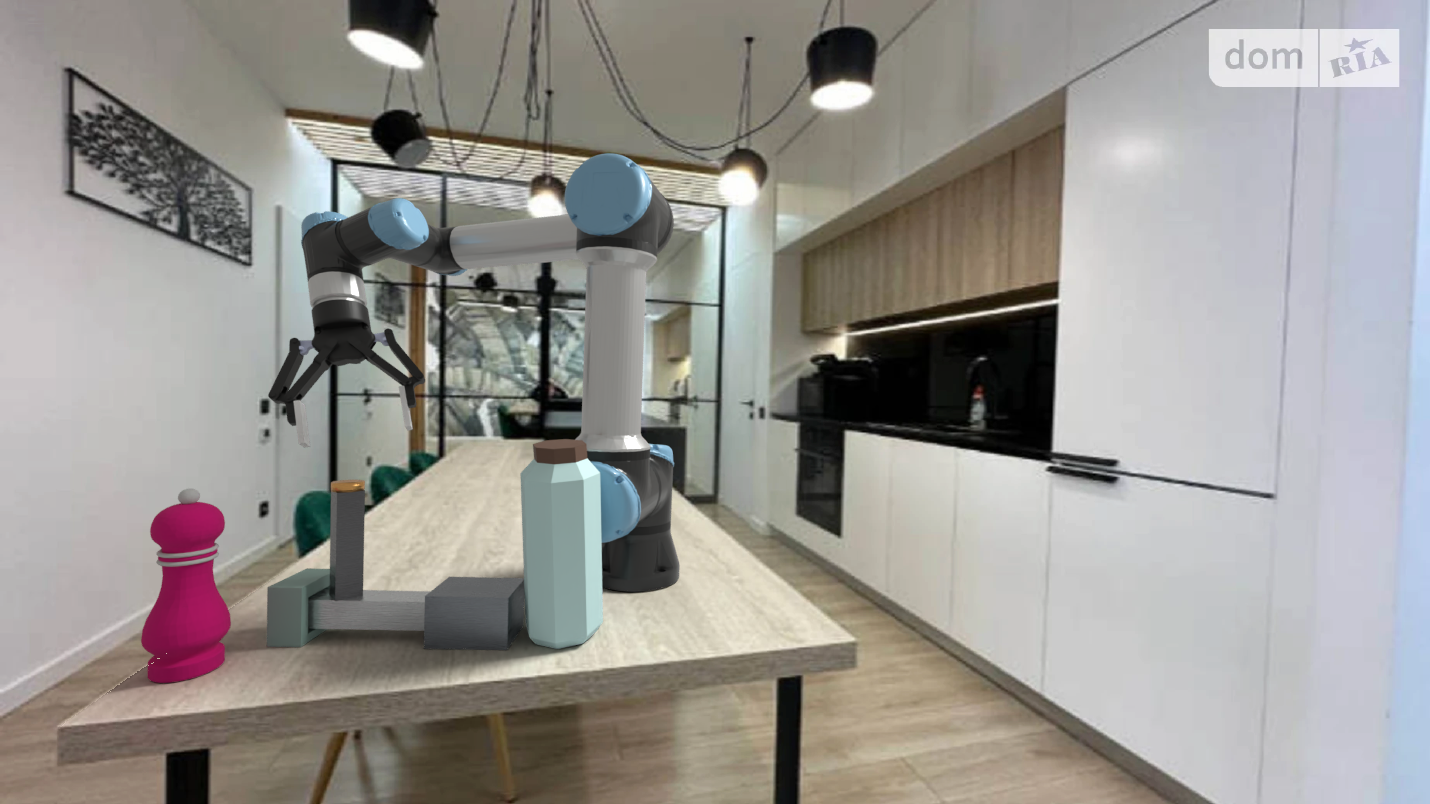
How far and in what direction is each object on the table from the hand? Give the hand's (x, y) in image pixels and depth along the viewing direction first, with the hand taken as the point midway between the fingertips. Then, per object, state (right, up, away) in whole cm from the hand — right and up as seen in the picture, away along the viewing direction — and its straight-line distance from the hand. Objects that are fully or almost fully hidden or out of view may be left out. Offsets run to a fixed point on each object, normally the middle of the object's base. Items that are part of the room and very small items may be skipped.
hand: (358, 436), depth 85 cm
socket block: (+2, -24, -14) cm, 28 cm away
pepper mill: (-5, -24, -23) cm, 34 cm away
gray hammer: (+10, -23, -13) cm, 28 cm away
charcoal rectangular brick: (+23, -25, -13) cm, 36 cm away
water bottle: (+34, -25, -11) cm, 44 cm away
